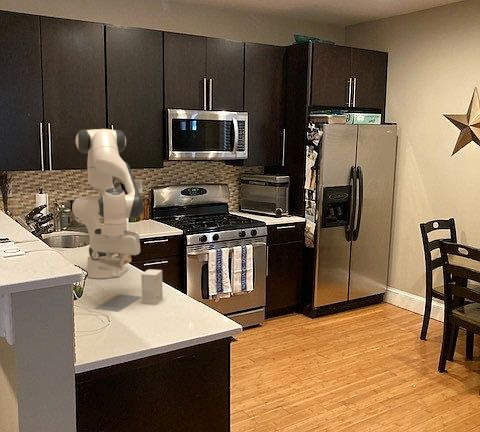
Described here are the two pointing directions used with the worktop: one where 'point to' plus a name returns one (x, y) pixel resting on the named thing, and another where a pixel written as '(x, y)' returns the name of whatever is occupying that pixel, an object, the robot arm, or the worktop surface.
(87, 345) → the worktop surface
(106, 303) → the mat
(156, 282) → the small box
